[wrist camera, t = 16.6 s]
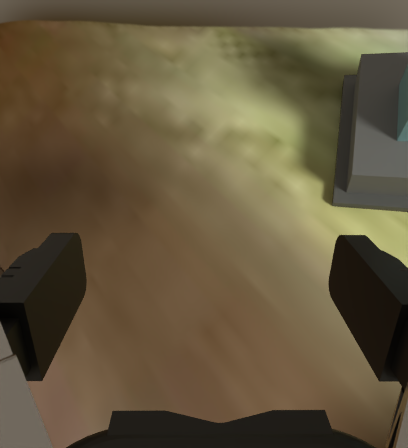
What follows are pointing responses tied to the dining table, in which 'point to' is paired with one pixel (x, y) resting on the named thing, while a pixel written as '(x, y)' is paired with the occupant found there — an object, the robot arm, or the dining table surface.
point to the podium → (372, 137)
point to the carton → (403, 108)
